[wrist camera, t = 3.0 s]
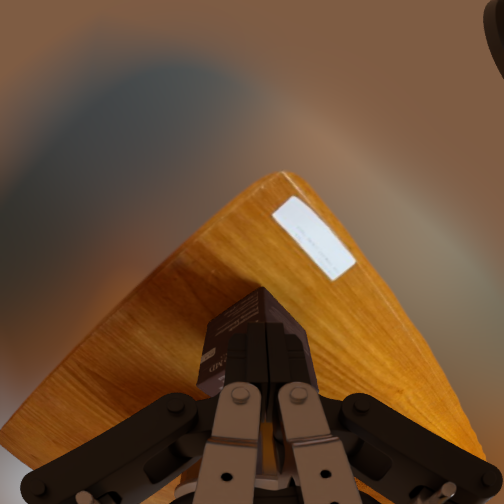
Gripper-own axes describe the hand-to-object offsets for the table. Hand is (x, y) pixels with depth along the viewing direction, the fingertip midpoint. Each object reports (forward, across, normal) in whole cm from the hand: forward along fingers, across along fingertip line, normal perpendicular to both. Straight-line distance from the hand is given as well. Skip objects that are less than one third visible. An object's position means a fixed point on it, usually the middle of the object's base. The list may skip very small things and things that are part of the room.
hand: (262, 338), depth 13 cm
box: (+11, 0, +7) cm, 13 cm away
